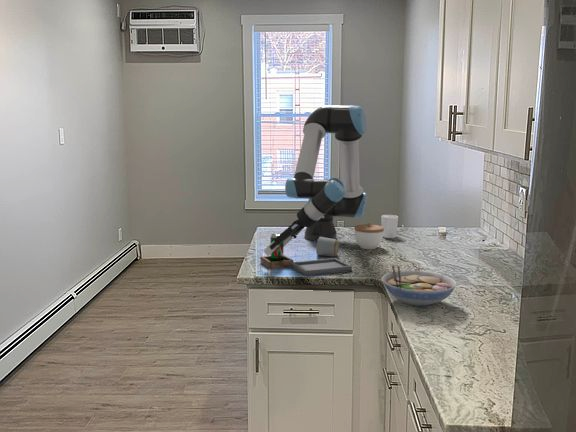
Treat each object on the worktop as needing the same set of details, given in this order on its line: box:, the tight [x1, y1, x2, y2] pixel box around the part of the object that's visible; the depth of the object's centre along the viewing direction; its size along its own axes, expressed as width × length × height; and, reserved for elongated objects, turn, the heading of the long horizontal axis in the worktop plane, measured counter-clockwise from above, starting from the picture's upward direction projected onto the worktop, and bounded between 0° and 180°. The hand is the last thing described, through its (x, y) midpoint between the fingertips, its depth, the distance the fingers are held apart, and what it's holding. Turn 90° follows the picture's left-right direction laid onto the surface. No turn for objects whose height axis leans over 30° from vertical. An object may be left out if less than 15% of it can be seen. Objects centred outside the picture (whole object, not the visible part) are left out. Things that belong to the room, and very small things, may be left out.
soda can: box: [269, 232, 285, 262], centre depth 224 cm, size 5×5×12 cm
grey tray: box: [290, 257, 353, 277], centre depth 220 cm, size 19×13×2 cm
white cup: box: [380, 214, 399, 239], centre depth 279 cm, size 8×8×10 cm
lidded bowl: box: [354, 222, 384, 250], centre depth 256 cm, size 13×13×11 cm
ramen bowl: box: [381, 265, 458, 307], centre depth 182 cm, size 25×23×8 cm
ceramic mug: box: [315, 237, 340, 258], centre depth 242 cm, size 11×8×8 cm
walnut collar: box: [260, 254, 294, 270], centre depth 225 cm, size 10×10×2 cm
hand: (272, 249), depth 225 cm, fingers open, 13 cm apart
